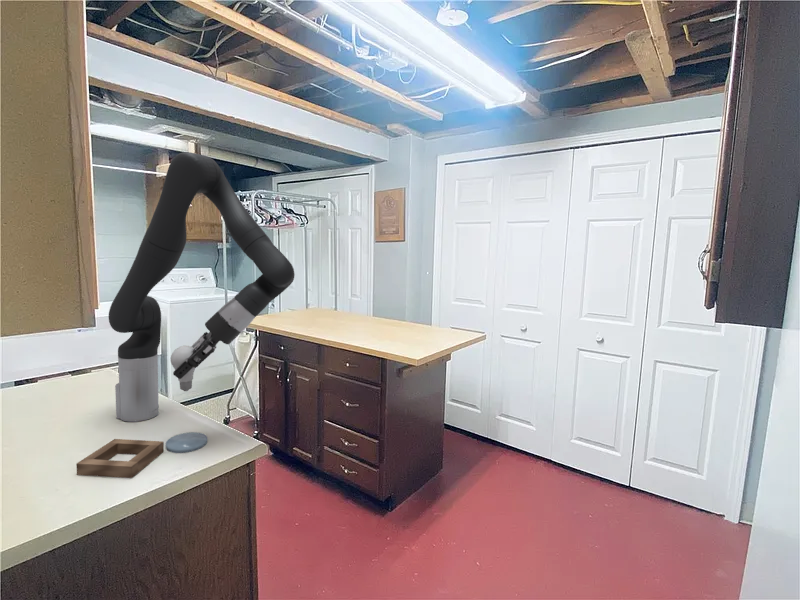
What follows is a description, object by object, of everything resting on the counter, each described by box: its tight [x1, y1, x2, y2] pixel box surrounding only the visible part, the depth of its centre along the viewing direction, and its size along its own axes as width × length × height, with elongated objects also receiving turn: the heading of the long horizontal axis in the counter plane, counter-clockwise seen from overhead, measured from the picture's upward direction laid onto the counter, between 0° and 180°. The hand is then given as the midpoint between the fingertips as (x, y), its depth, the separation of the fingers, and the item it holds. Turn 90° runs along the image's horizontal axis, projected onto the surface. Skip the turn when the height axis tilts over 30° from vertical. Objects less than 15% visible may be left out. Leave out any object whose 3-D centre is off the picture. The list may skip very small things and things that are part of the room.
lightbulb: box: [169, 345, 198, 392], centre depth 101 cm, size 6×6×11 cm
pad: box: [165, 431, 208, 454], centre depth 104 cm, size 9×9×1 cm
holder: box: [76, 438, 165, 479], centre depth 94 cm, size 12×12×2 cm
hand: (177, 372), depth 101 cm, fingers closed on lightbulb, 6 cm apart
